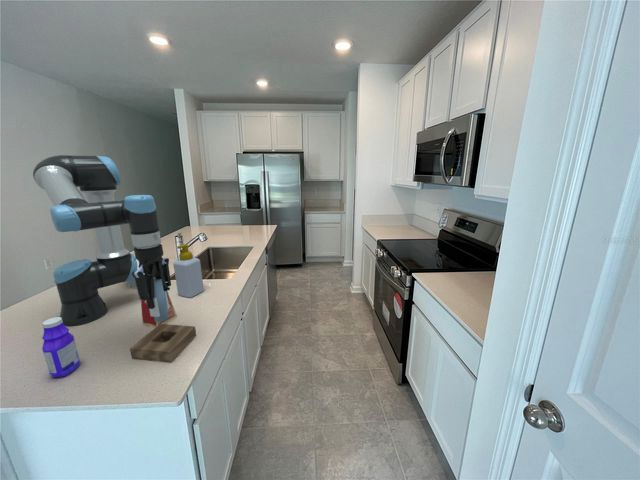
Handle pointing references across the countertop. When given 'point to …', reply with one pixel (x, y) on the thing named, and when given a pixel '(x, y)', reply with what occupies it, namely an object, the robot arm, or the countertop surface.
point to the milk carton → (150, 319)
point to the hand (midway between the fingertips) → (160, 312)
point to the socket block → (157, 349)
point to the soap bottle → (188, 273)
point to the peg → (160, 300)
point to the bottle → (59, 348)
